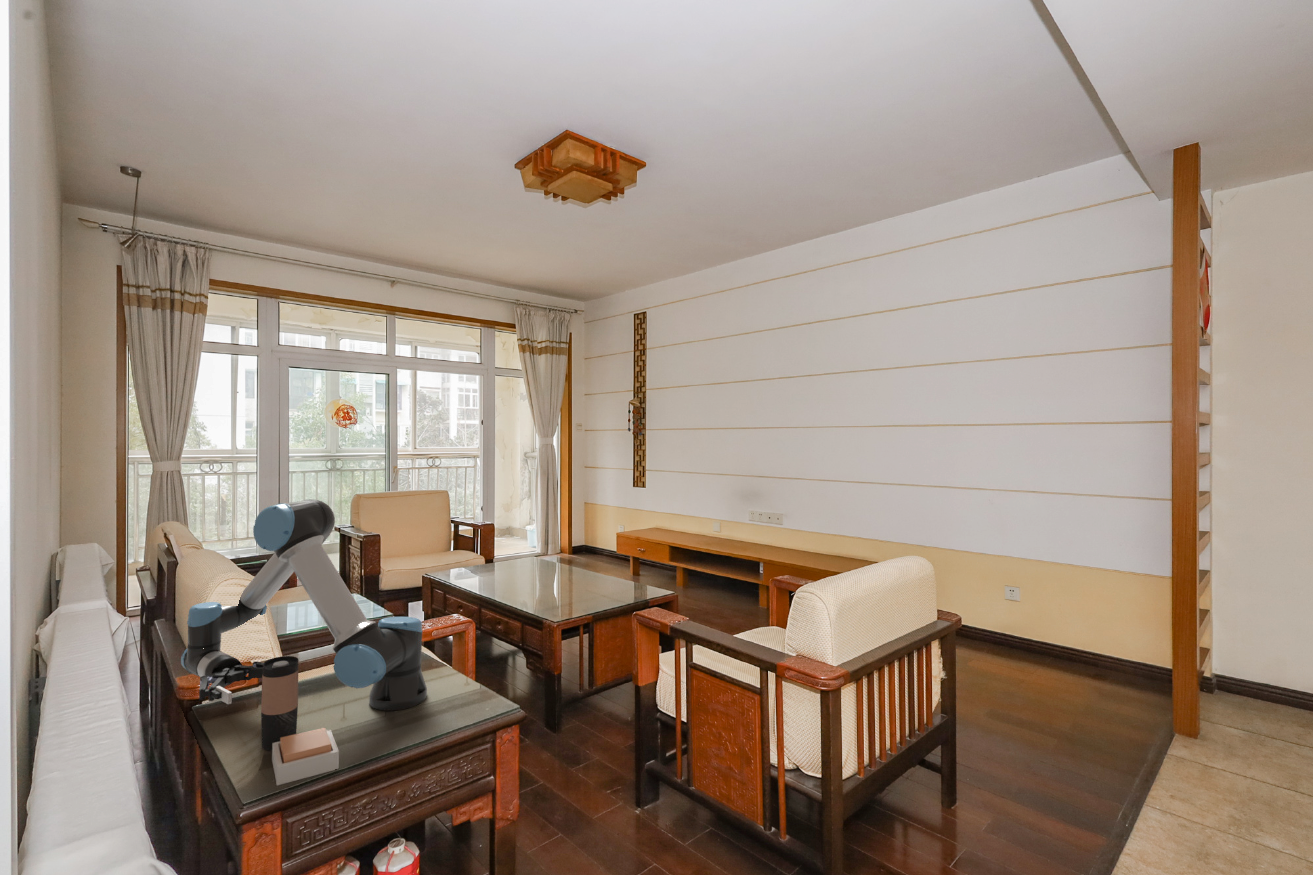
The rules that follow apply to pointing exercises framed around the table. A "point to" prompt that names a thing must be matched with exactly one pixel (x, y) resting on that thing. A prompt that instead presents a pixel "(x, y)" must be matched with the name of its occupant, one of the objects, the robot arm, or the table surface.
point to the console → (304, 764)
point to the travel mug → (279, 699)
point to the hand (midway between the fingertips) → (260, 688)
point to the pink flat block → (304, 745)
